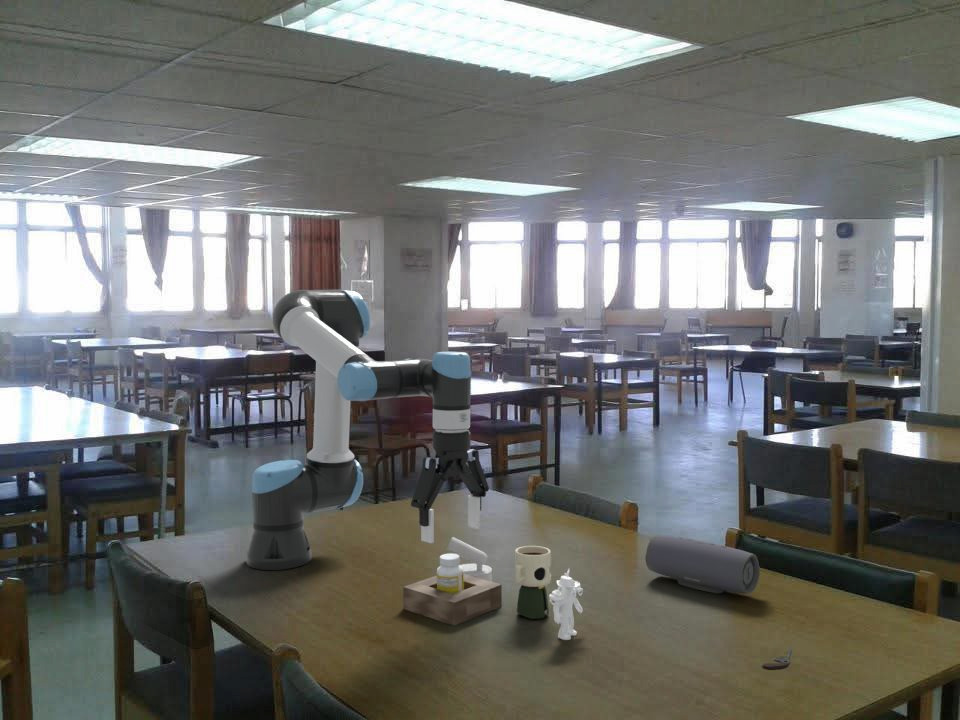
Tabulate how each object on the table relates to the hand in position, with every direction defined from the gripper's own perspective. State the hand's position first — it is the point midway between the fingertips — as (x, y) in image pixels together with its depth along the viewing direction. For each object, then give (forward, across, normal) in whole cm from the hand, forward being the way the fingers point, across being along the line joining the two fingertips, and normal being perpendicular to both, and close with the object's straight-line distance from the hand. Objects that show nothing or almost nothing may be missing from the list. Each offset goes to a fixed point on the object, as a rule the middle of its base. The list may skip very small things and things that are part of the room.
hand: (451, 534), depth 174 cm
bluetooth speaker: (+15, +44, -32) cm, 57 cm away
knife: (+15, +20, -60) cm, 64 cm away
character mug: (+15, +7, -16) cm, 23 cm away
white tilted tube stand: (+15, +15, +8) cm, 23 cm away
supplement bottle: (+14, 0, 0) cm, 14 cm away
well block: (+15, 0, 0) cm, 15 cm away
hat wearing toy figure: (+15, +3, -26) cm, 30 cm away
